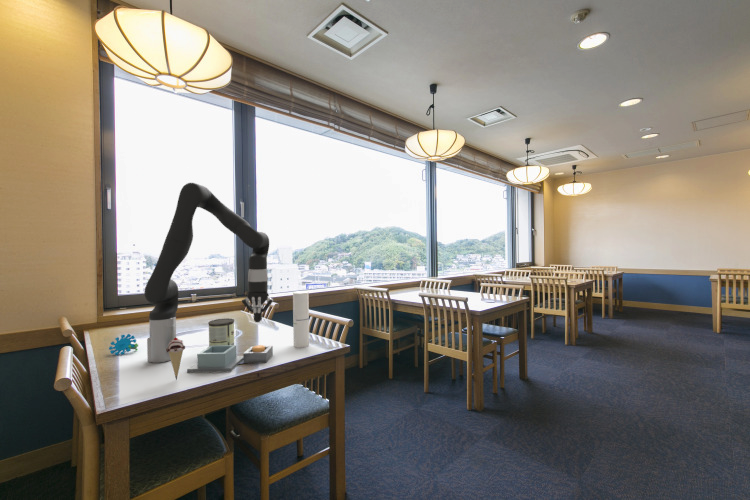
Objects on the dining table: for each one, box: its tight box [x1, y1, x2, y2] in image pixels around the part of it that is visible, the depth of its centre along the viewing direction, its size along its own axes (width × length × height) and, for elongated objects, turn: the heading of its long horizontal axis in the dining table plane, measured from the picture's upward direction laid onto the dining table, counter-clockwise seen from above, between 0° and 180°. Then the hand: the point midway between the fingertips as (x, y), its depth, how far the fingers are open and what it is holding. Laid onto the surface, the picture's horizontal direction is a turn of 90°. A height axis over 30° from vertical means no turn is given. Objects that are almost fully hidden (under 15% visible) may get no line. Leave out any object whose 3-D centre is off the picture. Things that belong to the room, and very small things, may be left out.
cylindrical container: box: [292, 290, 310, 349], centre depth 151 cm, size 7×7×25 cm
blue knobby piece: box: [108, 333, 139, 356], centre depth 144 cm, size 11×6×10 cm
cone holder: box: [186, 344, 244, 373], centre depth 127 cm, size 16×14×6 cm
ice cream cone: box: [166, 337, 186, 381], centre depth 112 cm, size 6×6×15 cm
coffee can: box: [208, 318, 235, 347], centre depth 141 cm, size 10×10×14 cm
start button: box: [252, 344, 266, 352], centre depth 133 cm, size 5×5×3 cm
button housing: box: [242, 345, 274, 364], centre depth 133 cm, size 9×9×4 cm
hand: (257, 321), depth 133 cm, fingers closed
